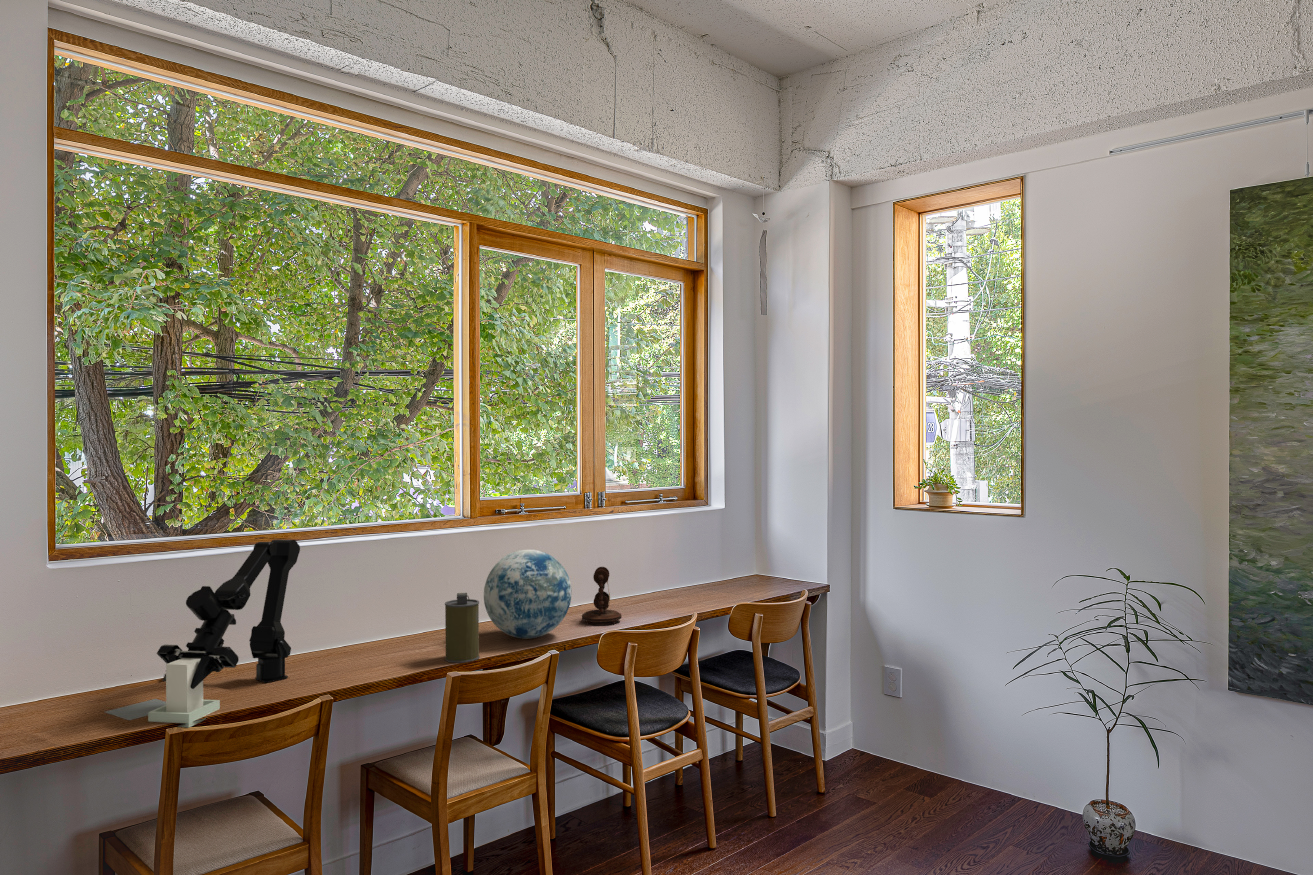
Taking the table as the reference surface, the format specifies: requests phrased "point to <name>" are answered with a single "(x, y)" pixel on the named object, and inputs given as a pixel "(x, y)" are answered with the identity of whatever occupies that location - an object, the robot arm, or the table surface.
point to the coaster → (137, 709)
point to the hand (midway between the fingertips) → (180, 687)
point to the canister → (462, 629)
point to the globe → (527, 594)
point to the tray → (184, 714)
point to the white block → (182, 686)
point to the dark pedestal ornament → (601, 601)
